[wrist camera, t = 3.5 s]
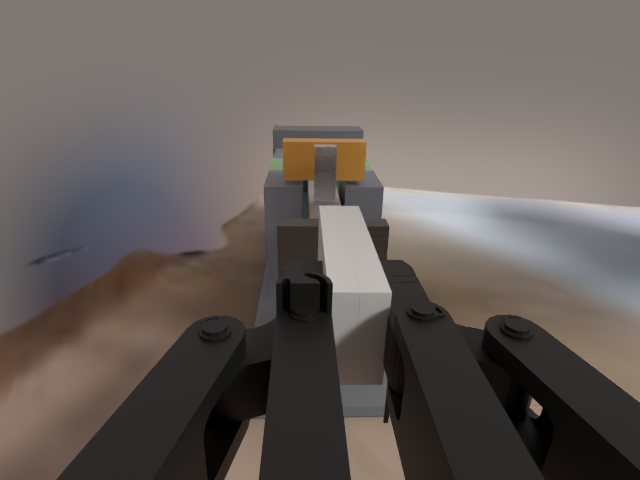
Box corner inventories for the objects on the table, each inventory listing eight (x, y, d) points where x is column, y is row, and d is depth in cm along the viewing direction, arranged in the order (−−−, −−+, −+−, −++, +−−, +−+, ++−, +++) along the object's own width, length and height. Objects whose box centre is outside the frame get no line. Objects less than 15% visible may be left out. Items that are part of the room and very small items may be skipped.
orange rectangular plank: (364, 180, 34) (366, 142, 32) (283, 180, 33) (282, 141, 32) (361, 175, 35) (363, 138, 34) (284, 175, 35) (283, 138, 34)
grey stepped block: (418, 415, 26) (445, 217, 21) (238, 418, 26) (223, 217, 21) (357, 227, 56) (363, 126, 51) (273, 227, 55) (270, 125, 50)
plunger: (381, 321, 25) (393, 182, 22) (279, 321, 25) (275, 182, 22) (351, 220, 41) (355, 131, 38) (289, 219, 41) (287, 130, 37)
